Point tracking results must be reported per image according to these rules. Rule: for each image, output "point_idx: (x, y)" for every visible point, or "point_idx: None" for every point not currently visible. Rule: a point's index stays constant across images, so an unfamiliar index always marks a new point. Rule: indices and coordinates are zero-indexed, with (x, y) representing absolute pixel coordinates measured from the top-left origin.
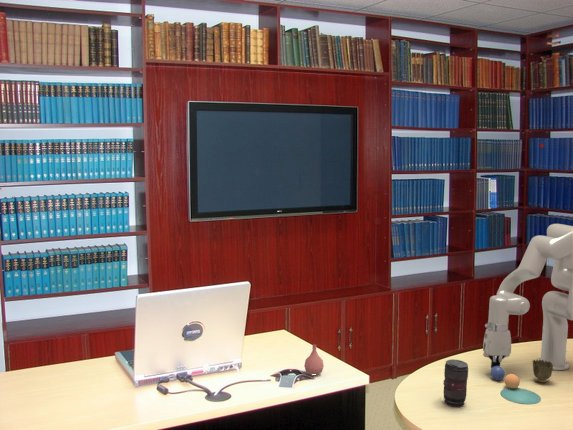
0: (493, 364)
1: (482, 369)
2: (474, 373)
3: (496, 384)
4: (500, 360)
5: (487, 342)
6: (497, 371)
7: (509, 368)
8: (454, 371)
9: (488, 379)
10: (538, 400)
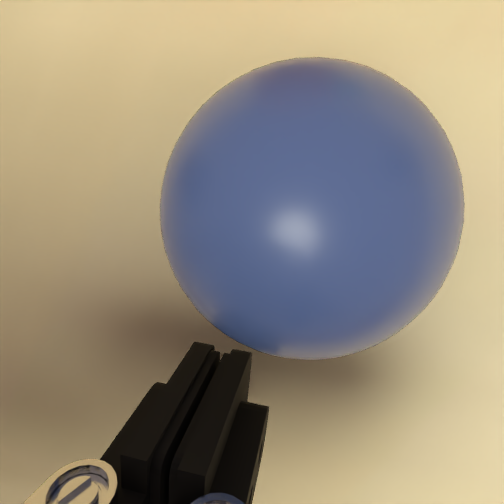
0: (245, 464)
1: (305, 496)
2: (492, 445)
3: (449, 5)
4: (67, 497)
5: None
6: (401, 99)
7: (20, 430)
8: None
9: None
10: None
